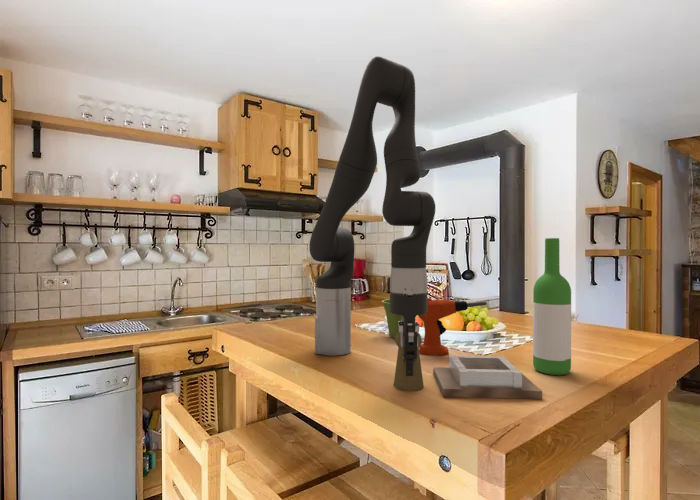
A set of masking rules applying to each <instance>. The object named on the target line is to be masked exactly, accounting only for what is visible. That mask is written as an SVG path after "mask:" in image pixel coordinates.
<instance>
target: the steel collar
mask: <svg viewBox="0 0 700 500" xmlns="http://www.w3.org/2000/svg"><path fill="white" fill-rule="evenodd" d="M448 355H449V356H448V357H449V359H448V361H449V363H448V368H449V369H450V371H451V373H452V375H453V376H454V378H455V380H456V381H457V383H458V385H459V386H460V387H464V388H468V387H484V388H514V389H522V374H523V372H522V371H521V370H520V369H518V368H517V367H516V366H515V365H513V363H511V362H510V360H508V359H507V358H506V357H505V356H503V355H455V354H453V355H451V354H448Z"/></svg>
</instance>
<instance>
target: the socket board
mask: <svg viewBox="0 0 700 500" xmlns="http://www.w3.org/2000/svg"><path fill="white" fill-rule="evenodd" d="M432 372H433V377H434V379H435V382H436V384H437V386H438V389H439V391H440V393H441V396H442V397H443V398H477V399H481V398H482V399H515V400H516V399H517V400H518V399H522V400H523V399H524V400H543V390H542V389H541V388H539V387H538V386H537V385H536V384H535V383H533V382H532V381H531V379H529V378H528V377H527V376H526V375H524V374H523V373H522V389H514V388H484V387H468V388H464V387H460V386H459V385H458V383H457V381H456V380H455V378H454V376H453V375H452V373H451V371H450V369H449V367H445V366H444V367H436V366H433V368H432Z"/></svg>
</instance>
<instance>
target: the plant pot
mask: <svg viewBox="0 0 700 500" xmlns="http://www.w3.org/2000/svg"><path fill="white" fill-rule="evenodd" d="M381 303H382V304H383V308H384V310H385V316H386V317H385V318H386V323H387V329H388V333H389V337H390V338H393V339H396V335H397V334H398V333H399V328H398V322H401V320H402V315H395V314H392V313H391V312H390V298H387V299H383V300H381Z"/></svg>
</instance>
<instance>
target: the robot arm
mask: <svg viewBox="0 0 700 500" xmlns="http://www.w3.org/2000/svg"><path fill="white" fill-rule="evenodd" d="M415 81H416V80H415V75H414V73H413V70H411V69H410V68H409V67H408V66H406V65H403V64H401V63H398V62H396V61H393V60H390V59H387V58H385V57H382V56H379V55H378V56H374V57H373V58H371V59H370V60H369V62H368V63H367V65H366V67H365V69H364V71H363V74H362V78H361V81H360V85H359V89H358V93H357V97H356V102H355V105H354V110H353V115H352V119H351V122H350V126H349V129H348V132H347V135H346V138H345V142H344V144H343V147H342V150H341V153H340V155H339V159H338V161H337V164H336V168H335V171H334V174H333V179H332V182H331V183H330V184H331V185H330V188H329V190H328V193H327V196H326V199H325V202H324V204H323V206H322V209H321V211H320V214H319V216H318V219H317V220H316V223H315V225H314V228H313V230H312V233H311V236H310V240H309V254H310V256H311V258H312V259H313V260H314V261H315V262H319V263H330V266H329V268H328V269H327V270H326V271H325V272H324V273H322V274H320V275H318V276H317V277H316V281H315V282H316V284H315V287H316V289H315V291H316V294H315V297H316V298H315V302H316V303H315V307H316V308H315V310H316V312H315V314H316V315H315V317H314V354H316V355H323V356H342V355H347V354H349V353H351V351H352V350H351V349H352V347H351V345H352V342H351V339H352V337H351V336H352V335H351V334H352V328H351V326H352V322H351V321H352V319H351V318H352V316H351V315H352V305H351V302H352V301H351V299H352V297H351V295H352V294H351V293H352V289H351V286H352V285H351V284H352V279H353V278H354V277H353V276H354V269H355V267H354V266H355V239H354V235H353V234H352V232H351V230H349V229H348V228H345V227H340V224H341V222H342V220H343V219H344V217H345V215H346V214H347V213H348V212H349V211H350V209H352V207H353V206H354V205H355V204H357V202H359V200H360V199H361V198H362V197H363V196H364V195H365V194H366V193H367V191H368V189H369V187H370V185H371V183H372V180H373V177H374V174H375V172H376V169H377V165H378V154H377V147H376V143H375V138H374V132H373V131H374V130H373V121H374V115H375V110H376V107H377V104H381V105H384V106H387V107H391V108H392V111H393V113H394V123H393V125H392V127H391V129H390V131H389V133H388V134H387V136H386V139H385V142H384V146H383V159H384V166H385V167H384V168H385V174H386V181H385V182H386V184H385V193H384V197H383V203H382V209H381V211H382V216H383V219H384V220H385V222H386V223H387V224H388V225H390V226H393V227H413V228H412V231H411V233H410V234H409V235H408V236H403V237H399V238H396V239H394V240H393V241H392V243H391V249H390V257H391V260H390V261H391V266H390V276H389V299H390V312H391V313H392V314H395V315H402V320H401V322H398V328H399V332H400V335H401V347H403V355H402V358H403V360H404V362H405V360H406V376H413V360H414V362H415V360H416V359H417V347H418V333H419V334H420V323H419V321H416V317H418V315H424V314H426V313H427V298H428V274H427V246H428V242H429V236H430V232H431V229H432V225H433V223H434V219H435V215H436V203H435V199H434V197H433V196H432V195H431V194H430V193H428V192H426V191H419V190H418V191H413V190H402V189H405V188H407V187H411V186H414V185H415V184H417V183H418V181H420V178H421V168H420V161H419V157H418V156H419V155H418V150H417V149H418V148H417V142H416V131H415V130H416V129H415V128H416V127H415V125H416V82H415ZM403 334H404V342H403ZM408 349H409V350H413V352H407V350H408ZM409 363H410V364H409ZM409 368H410V369H409ZM409 371H410V373H409Z"/></svg>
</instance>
